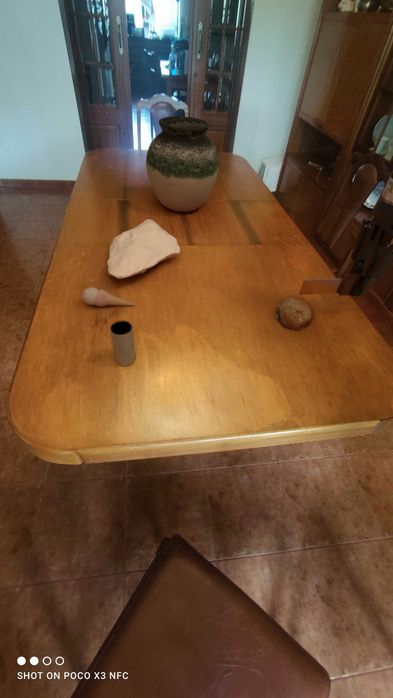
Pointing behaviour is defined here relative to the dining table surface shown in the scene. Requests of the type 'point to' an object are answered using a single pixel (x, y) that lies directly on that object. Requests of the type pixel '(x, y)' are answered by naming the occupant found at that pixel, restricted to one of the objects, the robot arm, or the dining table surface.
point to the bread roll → (295, 313)
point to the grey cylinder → (123, 343)
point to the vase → (182, 163)
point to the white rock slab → (140, 249)
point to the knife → (333, 285)
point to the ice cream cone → (103, 298)
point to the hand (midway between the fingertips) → (351, 291)
